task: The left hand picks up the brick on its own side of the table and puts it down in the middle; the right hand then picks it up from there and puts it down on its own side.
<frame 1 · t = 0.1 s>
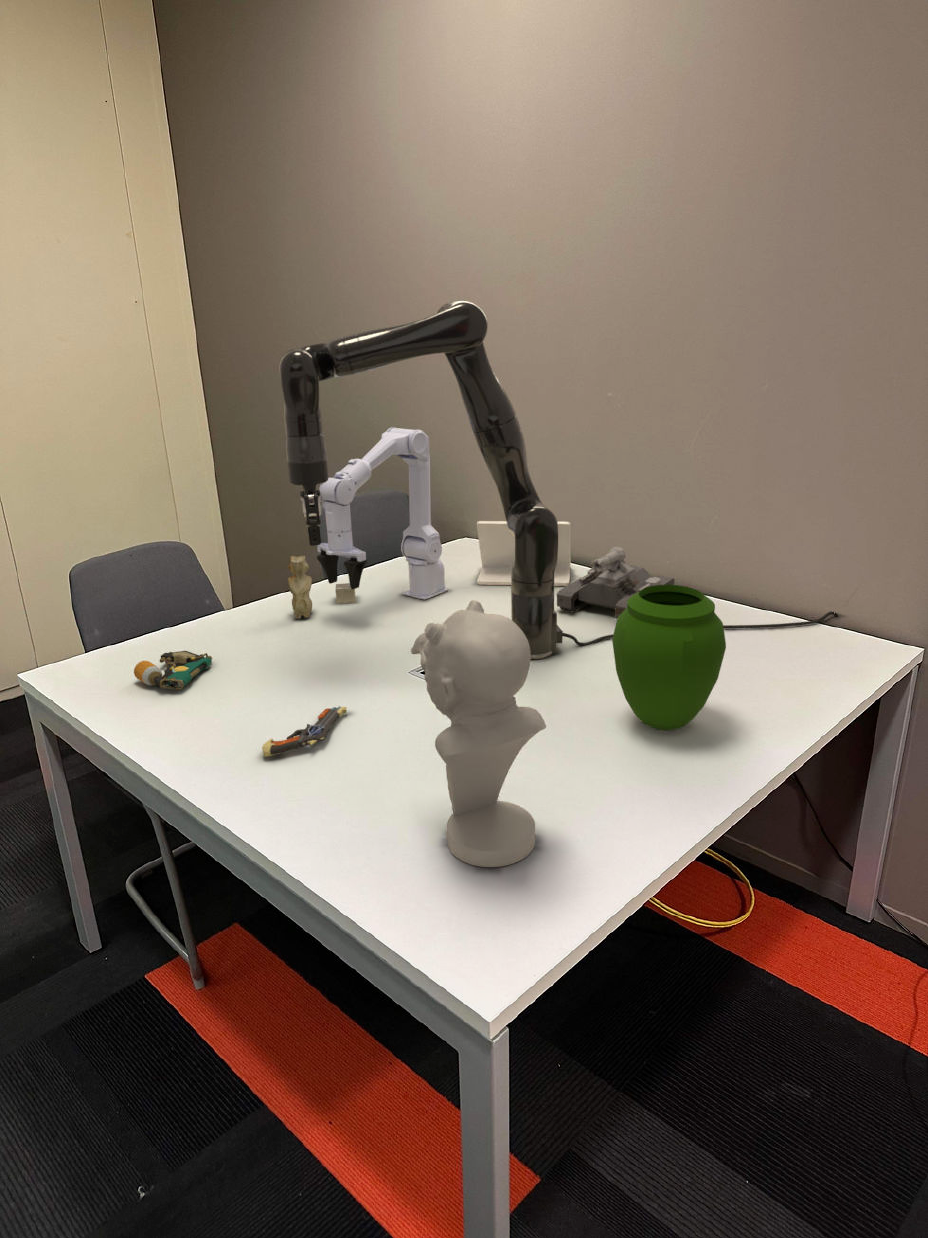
left hand: (343, 585, 203), 10 cm above the table, tool pointing down, fingers open, 7 cm apart
right hand: (314, 539, 170), 29 cm above the table, tool pointing down, fingers open, 8 cm apart
sculpture: (303, 616, 213), on the table
vase: (663, 722, 156), on the table
tablet stand: (525, 575, 239), on the table
toy gun: (306, 735, 154), on the table
toy: (615, 605, 214), on the table
brick: (346, 600, 223), on the table
bust sculpture: (470, 832, 125), on the table
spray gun: (177, 676, 181), on the table
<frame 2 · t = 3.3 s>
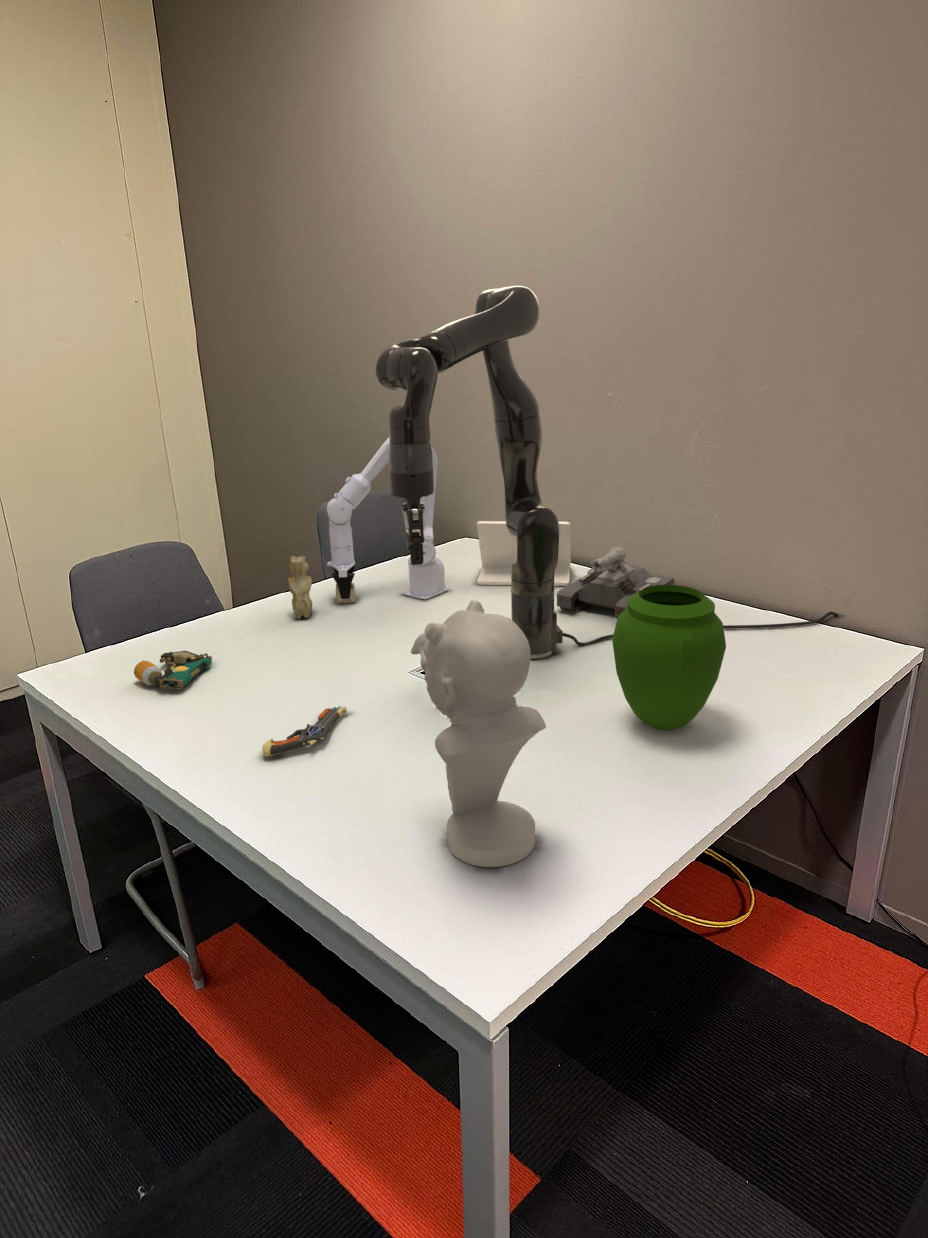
left hand: (345, 595, 223), 1 cm above the table, tool pointing down, fingers closed on brick, 4 cm apart
right hand: (415, 557, 154), 30 cm above the table, tool pointing down, fingers open, 8 cm apart
brick: (346, 600, 223), on the table, touching left hand
everything else where it was.
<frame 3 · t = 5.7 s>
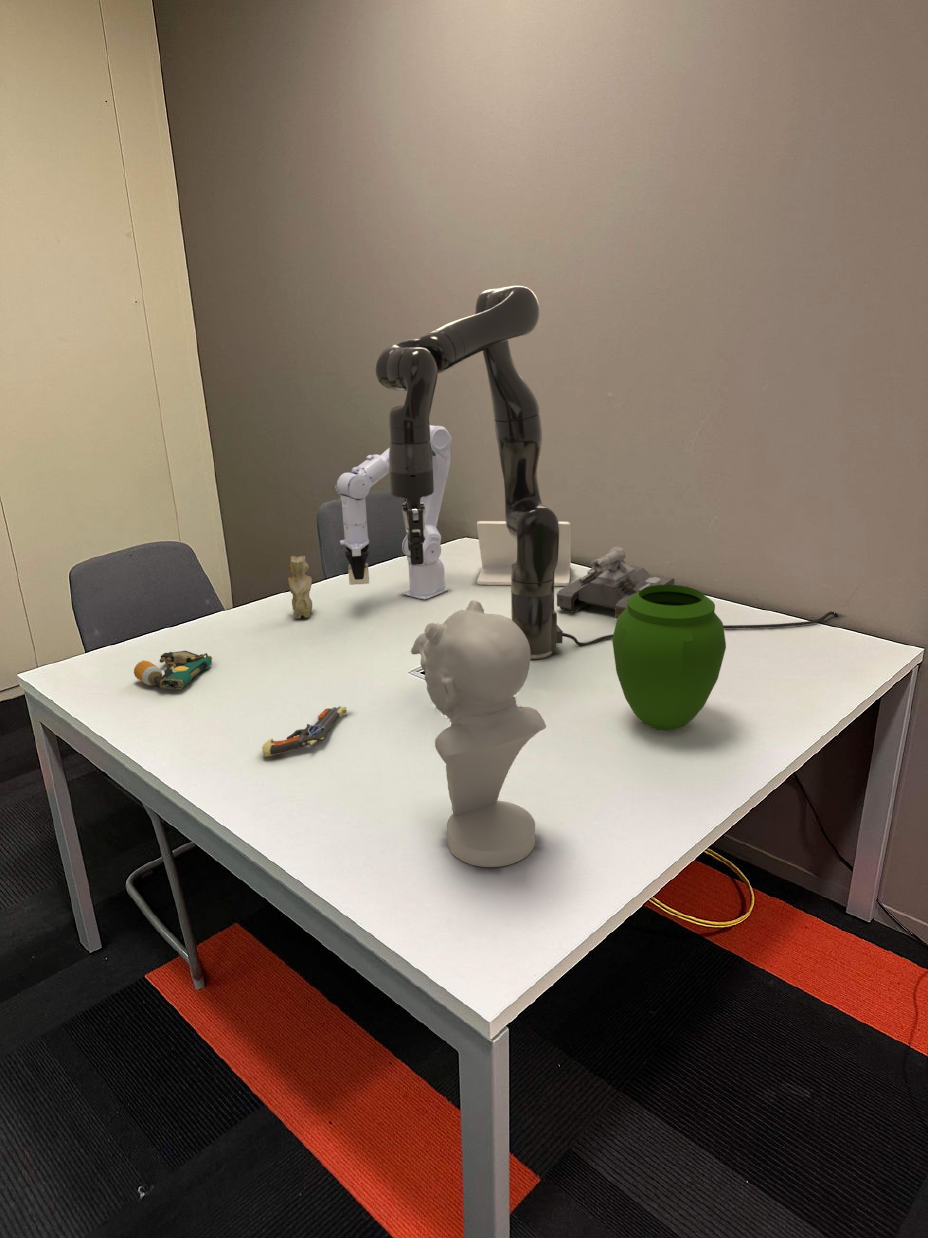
left hand: (359, 576, 212), 9 cm above the table, tool pointing down, fingers closed on brick, 4 cm apart
right hand: (415, 557, 154), 30 cm above the table, tool pointing down, fingers open, 8 cm apart
brick: (359, 581, 212), point 8 cm above the table, touching left hand
everything else where it was.
when the left hand's fingers open (2 cm above the table, at t = 8.4 s): brick stays where it is, on the table.
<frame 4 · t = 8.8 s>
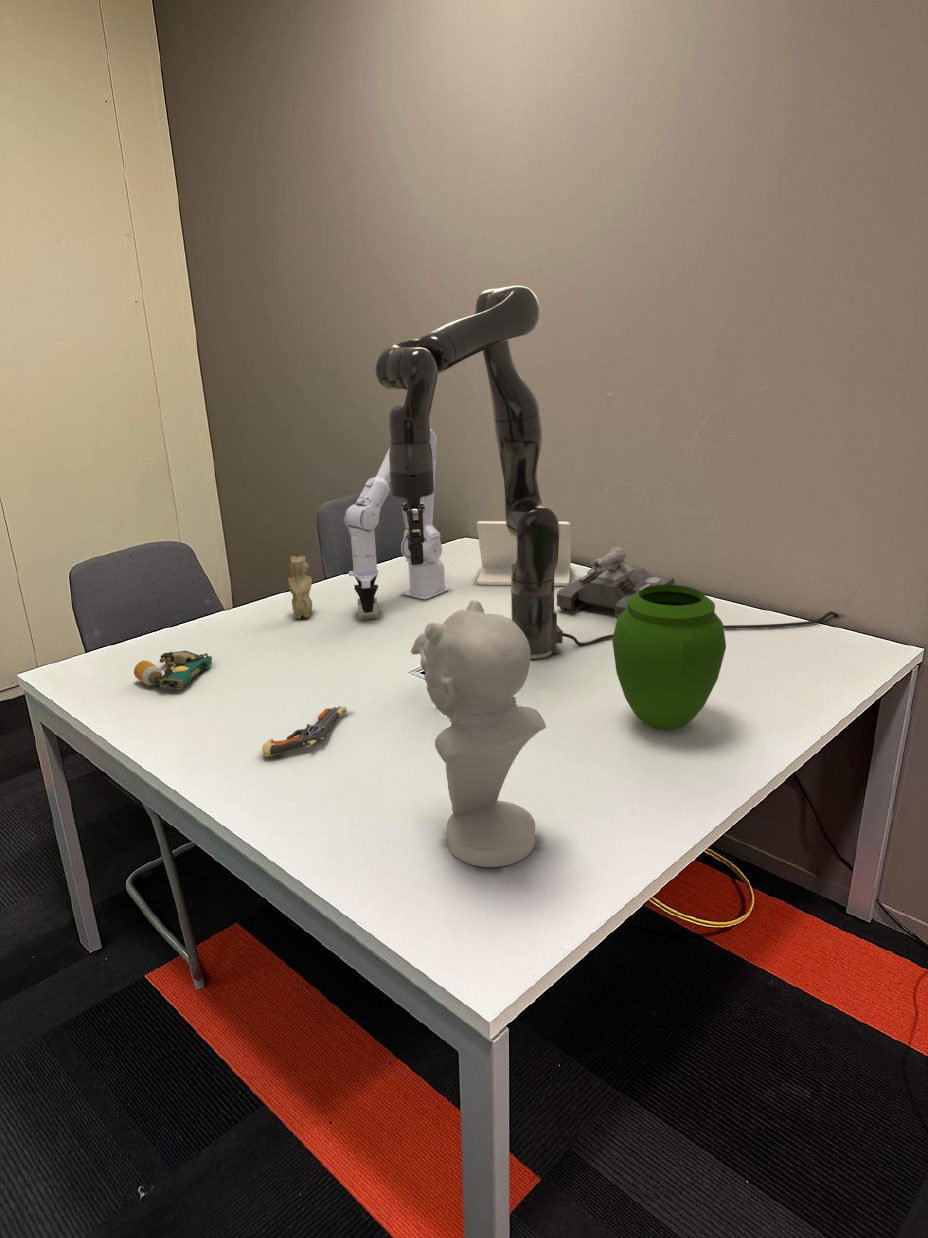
left hand: (368, 606, 211), 3 cm above the table, tool pointing down, fingers open, 7 cm apart
right hand: (415, 557, 154), 30 cm above the table, tool pointing down, fingers open, 8 cm apart
brick: (368, 616, 212), on the table
everything else where it was.
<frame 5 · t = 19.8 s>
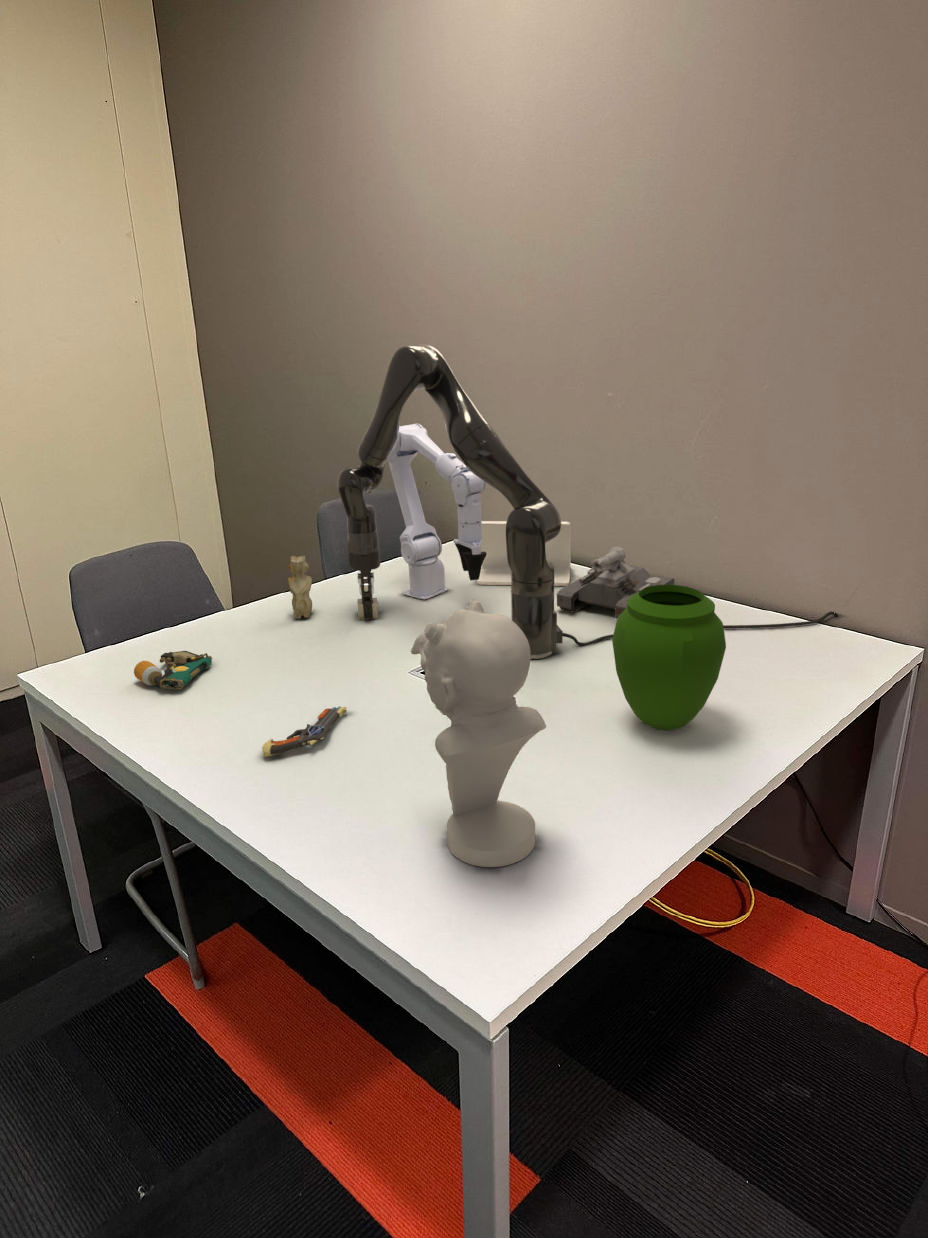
left hand: (471, 574, 210), 9 cm above the table, tool pointing down, fingers open, 7 cm apart
right hand: (368, 614, 212), 0 cm above the table, tool pointing down, fingers closed on brick, 4 cm apart
brick: (368, 616, 212), on the table, touching right hand
everything else where it was.
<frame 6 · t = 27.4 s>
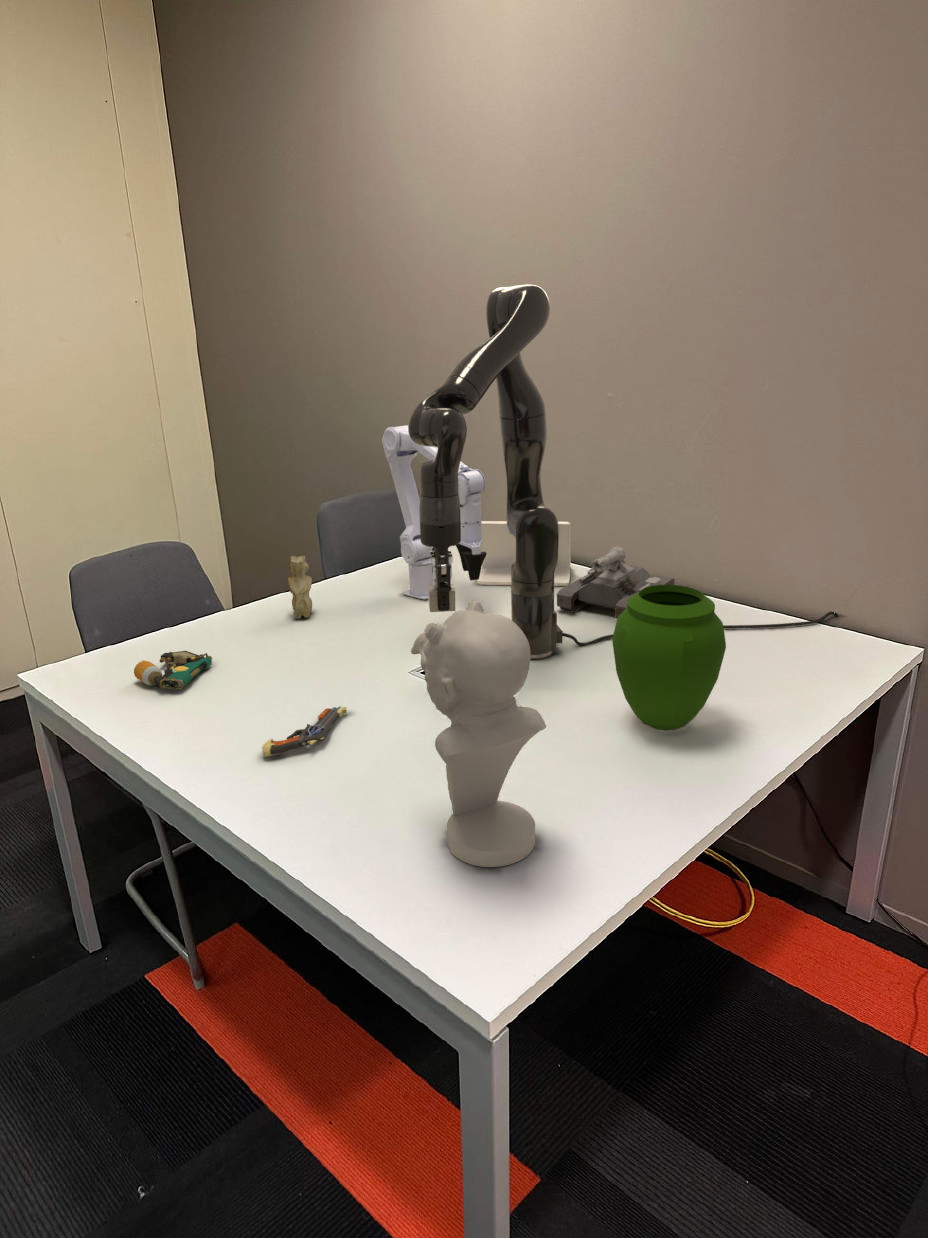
left hand: (471, 574, 210), 9 cm above the table, tool pointing down, fingers open, 7 cm apart
right hand: (442, 605, 163), 19 cm above the table, tool pointing down, fingers closed on brick, 4 cm apart
brick: (442, 607, 163), point 18 cm above the table, touching right hand
everything else where it was.
when the right hand's fingers open (1 cm above the table, at t = 35.3 s): brick stays where it is, on the table.
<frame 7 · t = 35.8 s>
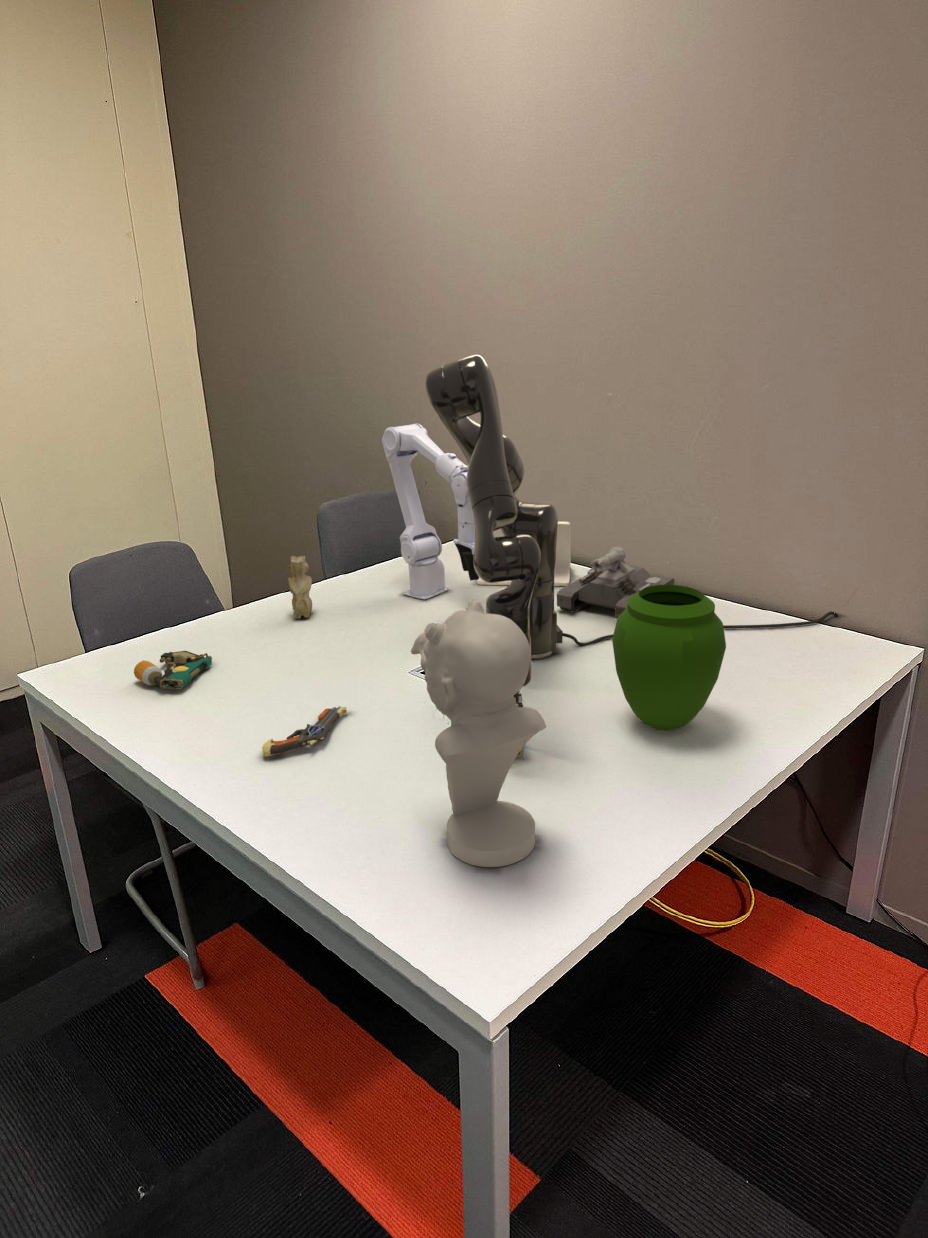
left hand: (471, 574, 210), 9 cm above the table, tool pointing down, fingers open, 7 cm apart
right hand: (509, 742, 146), 2 cm above the table, tool pointing down, fingers open, 8 cm apart
brick: (507, 753, 146), on the table
everything else where it was.
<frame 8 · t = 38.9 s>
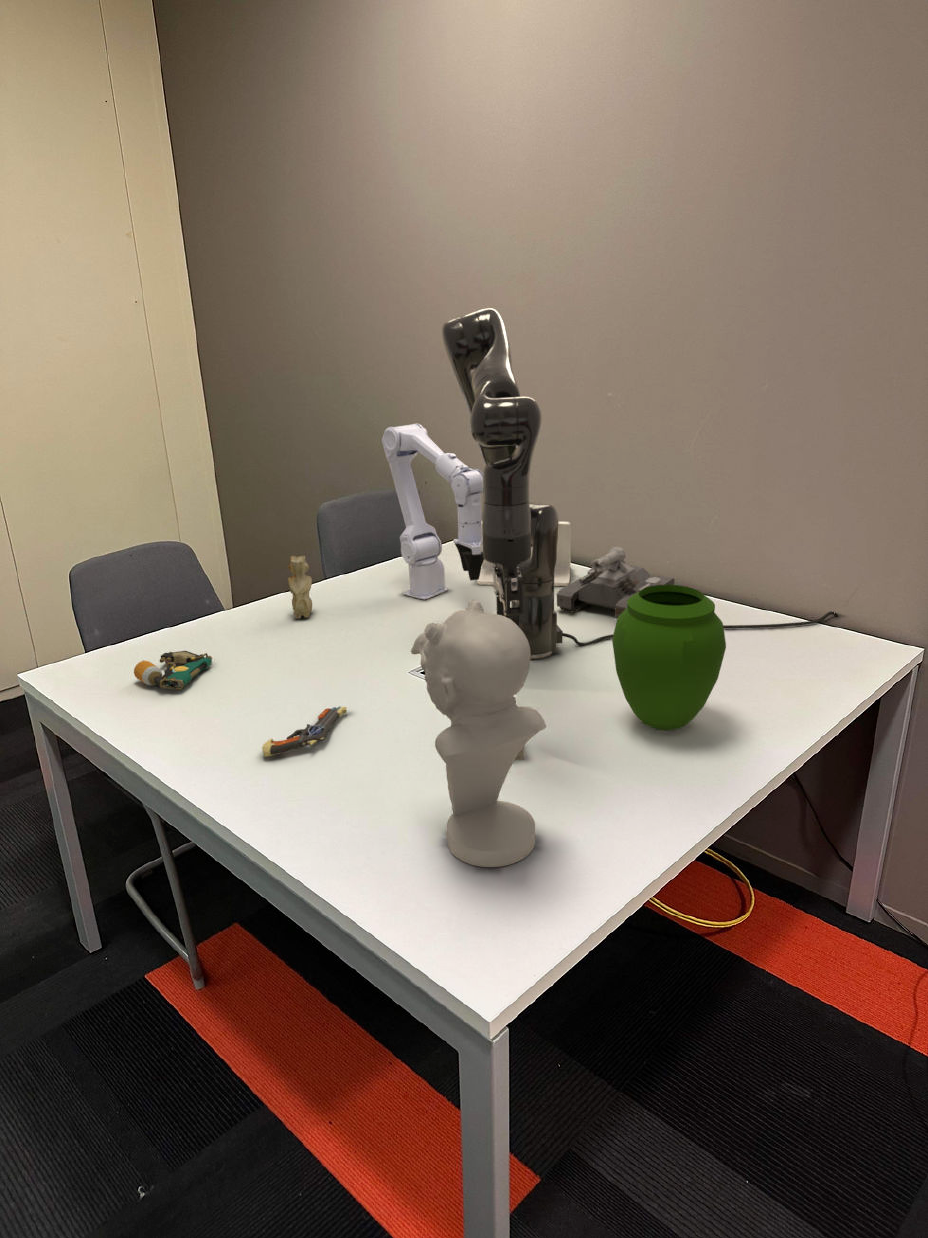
left hand: (471, 574, 210), 9 cm above the table, tool pointing down, fingers open, 7 cm apart
right hand: (507, 626, 138), 23 cm above the table, tool pointing down, fingers open, 8 cm apart
nothing on the table moved.
at the end: brick inside the target area (0.2 cm from its centre), on the table; brick tilted 0°; the two hands never held the brick at the same time; the left hand is holding nothing; the right hand is holding nothing; brick at rest at the end (0.0 cm/s) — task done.
